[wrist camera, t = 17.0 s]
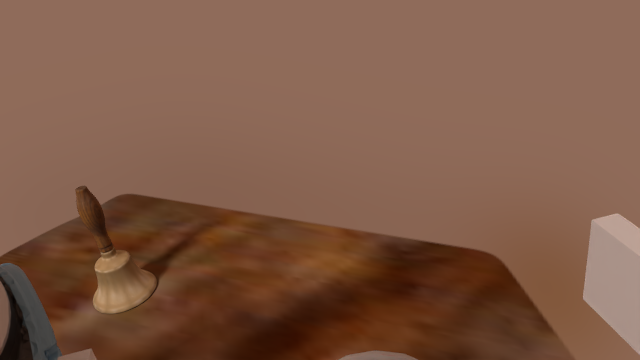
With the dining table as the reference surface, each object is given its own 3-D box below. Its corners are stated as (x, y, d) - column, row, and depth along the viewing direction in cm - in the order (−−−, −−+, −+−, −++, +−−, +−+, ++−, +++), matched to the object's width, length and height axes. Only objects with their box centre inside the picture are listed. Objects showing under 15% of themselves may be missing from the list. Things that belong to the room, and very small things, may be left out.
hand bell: (87, 320, 66) (36, 213, 58) (99, 280, 73) (56, 180, 66) (154, 305, 66) (112, 196, 59) (159, 266, 74) (123, 166, 66)
